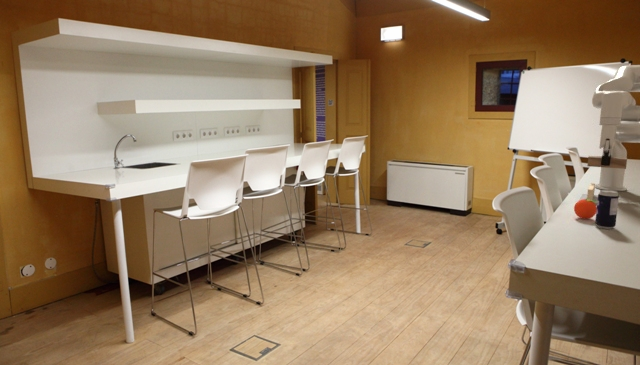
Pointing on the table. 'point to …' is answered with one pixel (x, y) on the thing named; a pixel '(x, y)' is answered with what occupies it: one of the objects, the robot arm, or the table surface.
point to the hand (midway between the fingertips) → (605, 164)
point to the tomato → (585, 208)
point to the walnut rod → (614, 162)
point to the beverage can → (607, 209)
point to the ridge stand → (590, 194)
